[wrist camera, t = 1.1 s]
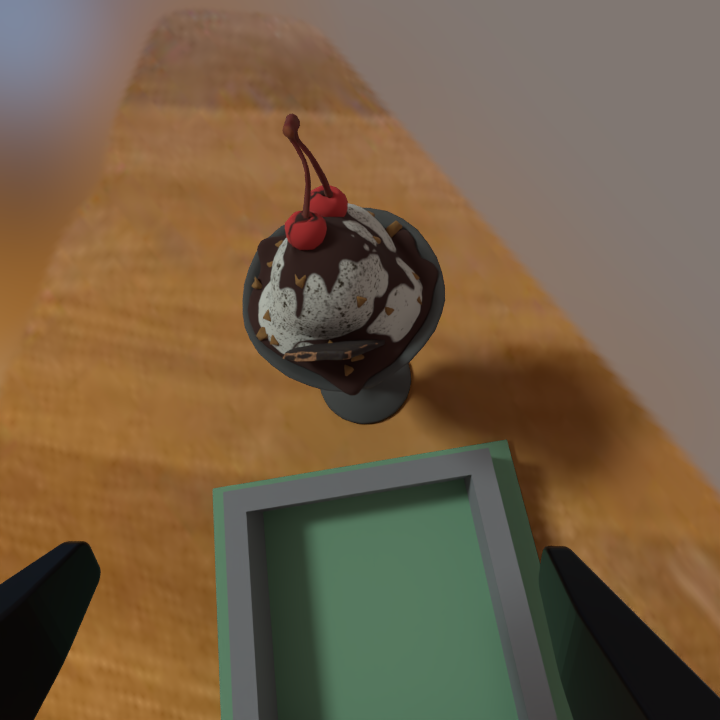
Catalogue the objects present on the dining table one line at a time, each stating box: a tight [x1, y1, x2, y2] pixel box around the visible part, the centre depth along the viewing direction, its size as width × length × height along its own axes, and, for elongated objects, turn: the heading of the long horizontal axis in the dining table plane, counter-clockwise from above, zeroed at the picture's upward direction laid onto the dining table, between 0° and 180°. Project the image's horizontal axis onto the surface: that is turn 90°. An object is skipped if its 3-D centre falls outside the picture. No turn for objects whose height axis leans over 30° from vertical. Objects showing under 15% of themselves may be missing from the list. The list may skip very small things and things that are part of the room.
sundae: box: [243, 114, 445, 424], centre depth 17 cm, size 7×7×15 cm
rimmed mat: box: [213, 440, 573, 720], centre depth 18 cm, size 15×15×3 cm
